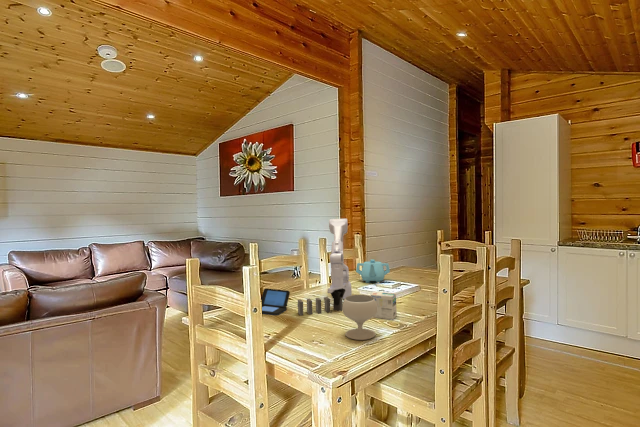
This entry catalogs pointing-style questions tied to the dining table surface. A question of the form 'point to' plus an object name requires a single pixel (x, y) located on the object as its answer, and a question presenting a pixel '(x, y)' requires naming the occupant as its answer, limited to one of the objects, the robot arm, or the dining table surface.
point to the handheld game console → (274, 301)
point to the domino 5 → (338, 307)
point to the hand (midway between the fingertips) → (338, 304)
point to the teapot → (372, 270)
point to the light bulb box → (385, 304)
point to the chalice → (359, 314)
